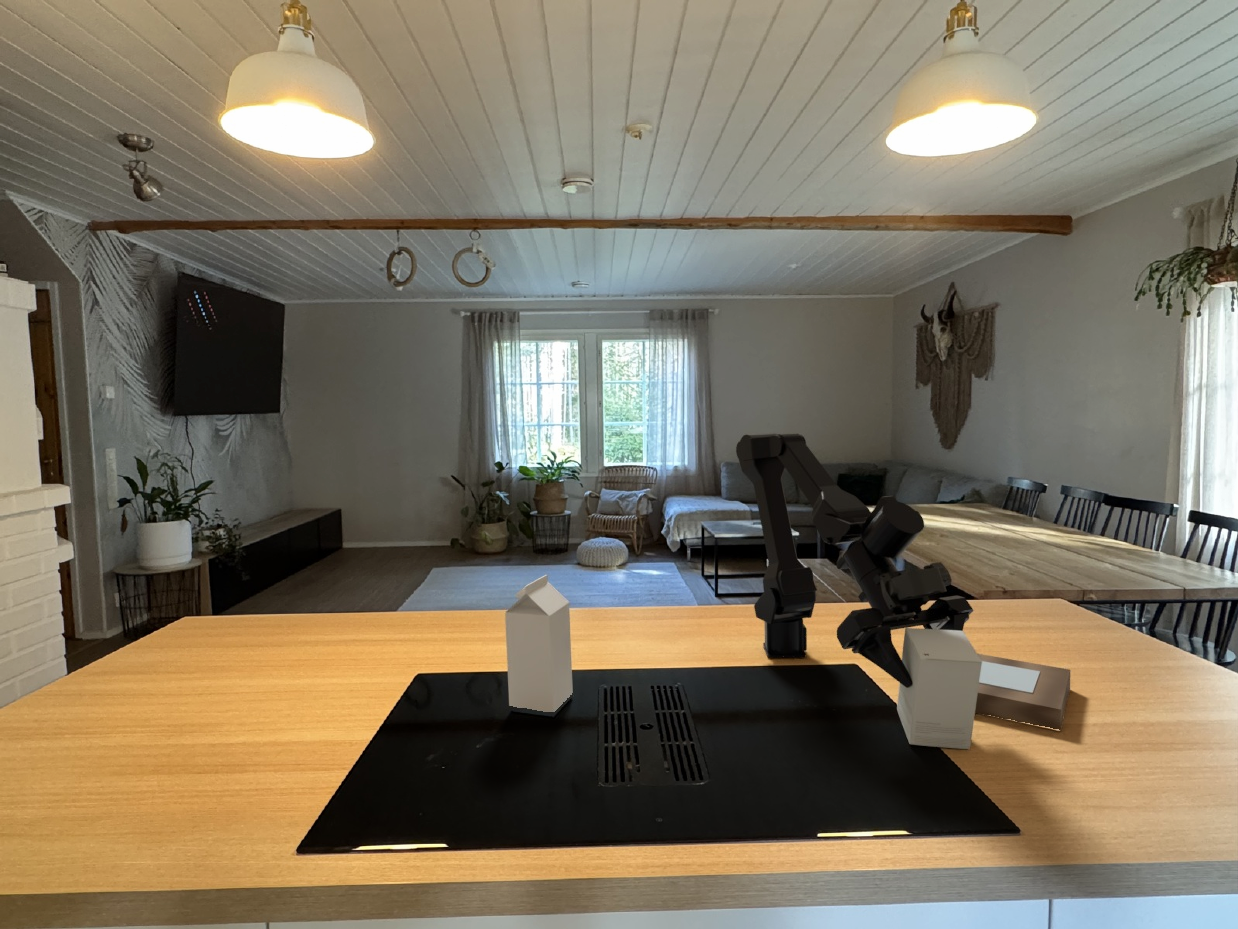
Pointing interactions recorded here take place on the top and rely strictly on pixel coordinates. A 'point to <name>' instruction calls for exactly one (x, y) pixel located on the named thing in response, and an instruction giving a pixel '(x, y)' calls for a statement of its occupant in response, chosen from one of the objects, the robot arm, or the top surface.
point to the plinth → (1023, 691)
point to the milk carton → (539, 648)
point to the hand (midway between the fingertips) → (939, 680)
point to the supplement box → (939, 688)
